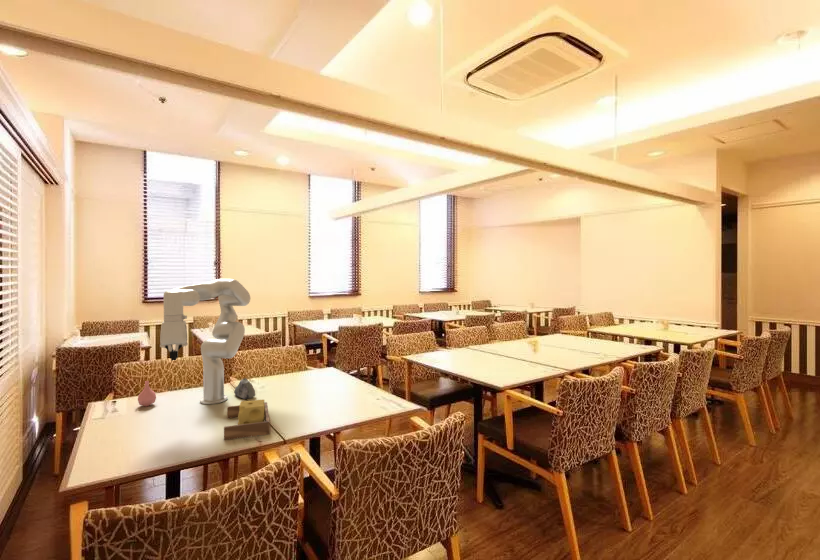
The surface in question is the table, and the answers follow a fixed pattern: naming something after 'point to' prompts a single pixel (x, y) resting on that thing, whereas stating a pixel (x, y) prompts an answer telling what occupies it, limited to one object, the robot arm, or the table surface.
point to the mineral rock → (245, 389)
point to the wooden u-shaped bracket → (246, 425)
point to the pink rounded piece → (146, 396)
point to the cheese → (251, 412)
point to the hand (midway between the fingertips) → (174, 359)
